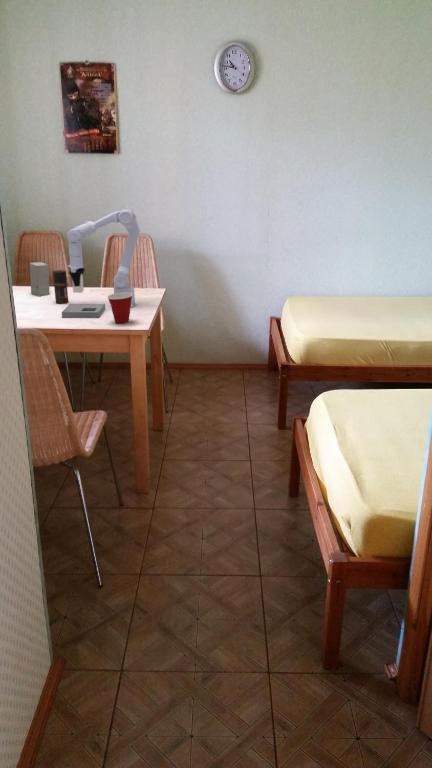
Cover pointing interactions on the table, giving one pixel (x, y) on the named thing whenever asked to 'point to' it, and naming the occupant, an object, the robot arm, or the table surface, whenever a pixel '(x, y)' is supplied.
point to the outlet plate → (83, 311)
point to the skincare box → (39, 279)
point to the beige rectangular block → (78, 288)
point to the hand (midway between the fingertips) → (78, 285)
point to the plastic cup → (120, 306)
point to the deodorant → (60, 287)
